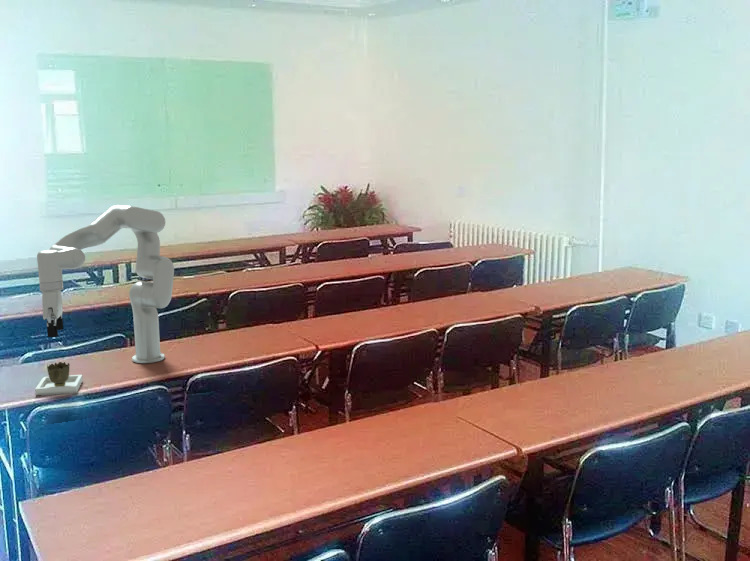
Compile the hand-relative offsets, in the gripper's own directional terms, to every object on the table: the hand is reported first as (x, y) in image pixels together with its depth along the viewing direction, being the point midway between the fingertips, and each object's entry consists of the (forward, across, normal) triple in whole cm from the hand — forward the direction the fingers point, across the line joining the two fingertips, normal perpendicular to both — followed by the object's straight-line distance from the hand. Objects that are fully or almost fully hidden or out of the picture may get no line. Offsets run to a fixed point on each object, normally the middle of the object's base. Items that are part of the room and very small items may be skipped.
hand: (55, 333), depth 266 cm
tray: (+20, 0, 0) cm, 20 cm away
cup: (+20, +1, 0) cm, 20 cm away
